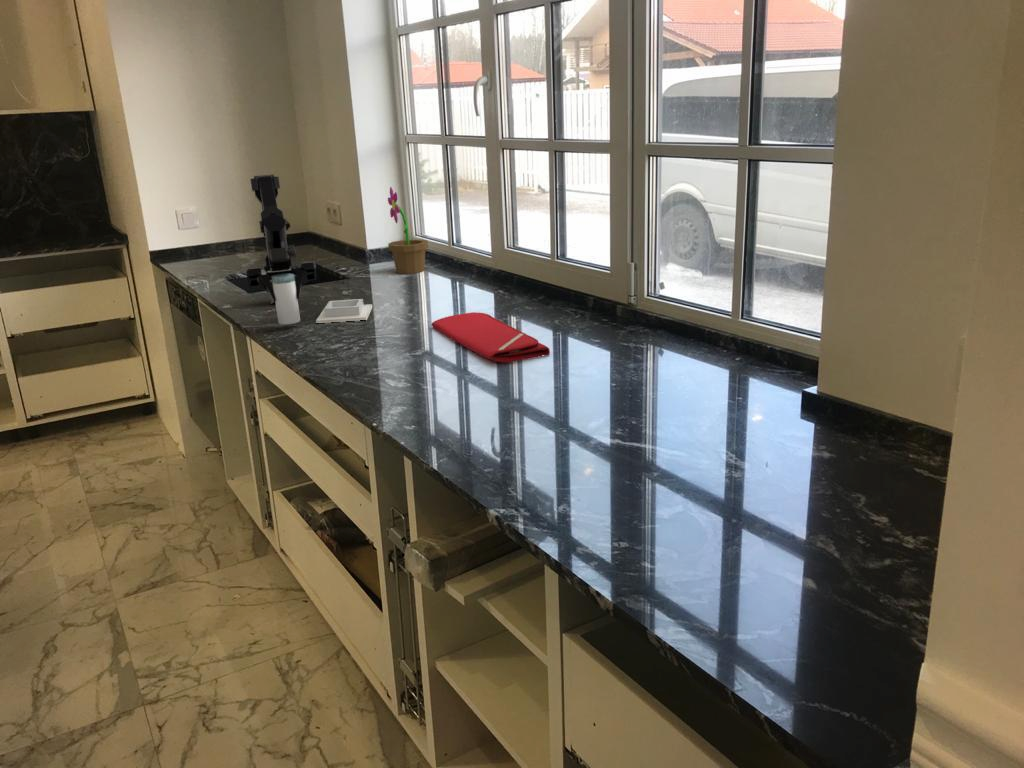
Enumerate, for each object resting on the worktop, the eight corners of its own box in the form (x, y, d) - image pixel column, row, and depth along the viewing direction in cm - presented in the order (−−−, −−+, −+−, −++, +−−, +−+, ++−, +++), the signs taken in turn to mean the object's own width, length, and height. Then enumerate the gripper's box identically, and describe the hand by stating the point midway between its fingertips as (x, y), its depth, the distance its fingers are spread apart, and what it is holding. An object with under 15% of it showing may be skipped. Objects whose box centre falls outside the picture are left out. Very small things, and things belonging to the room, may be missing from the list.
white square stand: (325, 310, 253) (323, 299, 252) (372, 307, 254) (371, 296, 253) (316, 324, 238) (314, 311, 237) (366, 320, 239) (364, 308, 237)
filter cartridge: (288, 318, 240) (281, 272, 236) (304, 319, 238) (298, 273, 233) (273, 323, 235) (266, 277, 231) (290, 325, 233) (284, 278, 228)
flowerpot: (385, 270, 309) (377, 186, 299) (422, 265, 314) (415, 182, 304) (397, 277, 296) (389, 189, 287) (436, 271, 302) (429, 185, 292)
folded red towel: (485, 320, 234) (484, 307, 233) (552, 356, 198) (551, 341, 197) (431, 329, 228) (429, 315, 227) (490, 368, 192) (489, 352, 191)
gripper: (241, 239, 230) (248, 287, 223) (311, 232, 235) (320, 279, 229) (245, 263, 240) (252, 309, 233) (312, 256, 245) (320, 301, 238)
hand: (286, 299), depth 233 cm, fingers closed on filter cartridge, 6 cm apart
